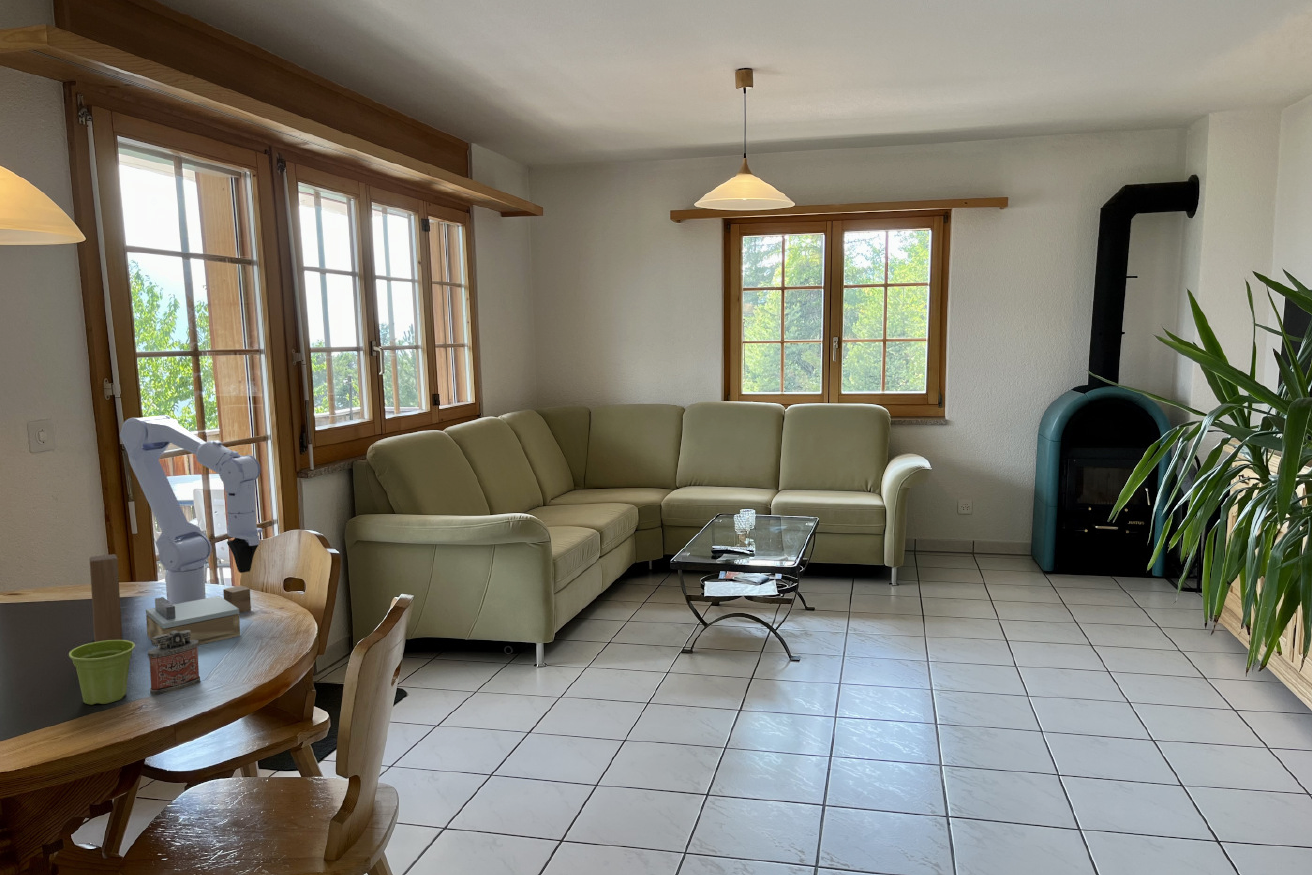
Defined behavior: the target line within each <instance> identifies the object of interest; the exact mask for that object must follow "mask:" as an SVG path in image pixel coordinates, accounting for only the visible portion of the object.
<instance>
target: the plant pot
mask: <svg viewBox="0 0 1312 875" xmlns="http://www.w3.org/2000/svg"><path fill="white" fill-rule="evenodd" d="M135 648H136V643H134V642H133V641H131V640H127V639H122V640H106V641H99V642H95V641H94V642H93V641H92V642H89V643H86V644H82V645H80V646H77V647H75V648H72V649H71V650H70V651H69V653H68V658H70V659H71V660H72V664H73V665H74V667H75V670H76V674H77V678H78V683H79V687H80V692H81V696H82V701H83V703H84V704H87V705H91V706H93V705H95V704H101V705H106V704H107V705H108V704H110V703H114V702H117V701H119V700H122V699H123V697H124V696H126V695H127V688H128V678H129V670H130V669H129V668H130V661H131V657H132V655H133V654H132V653H133V650H134V649H135Z"/></svg>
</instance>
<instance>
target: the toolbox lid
mask: <svg viewBox="0 0 1312 875" xmlns="http://www.w3.org/2000/svg"><path fill="white" fill-rule="evenodd" d="M154 603H155V604H154V606H155V607H153V608H147V609H145V615H148V616H149V617H150V618H151V619H152V620H153V621H155V622H156V623H157V624H158V625H159V626H161V627H162V628H163V629H165V628H170V627H175V626H180V625H185V624H190V623H195V622H200V621H205V620H210V619H215V618H220V617H225V616H230V615H235V614H239V615H240V613H239V608H237V607H235V606H234V605H232V604H231V603H229V602H228V601H226V600H225V599H224V597H221V596H220V595H217V596H213V597H208V598H207V597H206V599H200V600H195V601H190V602H184V603H179V604H172V603H170V602H169V601H168V600H167V598H165V597H164V596H162V597H155V598H154Z"/></svg>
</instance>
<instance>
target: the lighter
mask: <svg viewBox="0 0 1312 875" xmlns="http://www.w3.org/2000/svg"><path fill="white" fill-rule="evenodd" d="M190 637H191V631H190V630H185V631H181V632H178V631H175V630H174V631H171V632H170V634H168V635H167V634H164V635H160V636H156V637H153V638H152V640H151V645H152V646H156V647H154V648H152V649H149V650H148V651H147V657H148V659H149V674H150V675H149V676H150V687H149V694H150V695H151V696H161V695H166V694H170V693H174V692H177V691H178V692H179V691H182V690H185V689H188V688H190V687H193V686H197V685H198V684H200V683H201V676H200V675H199V674H200V671H199V651H198V647H199V645H198V640H190ZM183 638H184V640H185V641H183ZM167 642H168V643H167ZM165 643H167V645H166V644H165ZM159 644H160V647H158V646H157V645H159Z"/></svg>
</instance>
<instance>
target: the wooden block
mask: <svg viewBox="0 0 1312 875" xmlns="http://www.w3.org/2000/svg"><path fill="white" fill-rule="evenodd" d="M118 562H119V561H118V556H117V554H115V553H112V554H104V555H103V554H102V555H95V556H90V557H89V572H90V587H91V602H92V623H93V636H94V642H99V641H106V640H123V629H122V611H121V610H122V609H121V596H120V595H121V593H120V581H119V579H120V578H119V566H118V564H119V563H118Z"/></svg>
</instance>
